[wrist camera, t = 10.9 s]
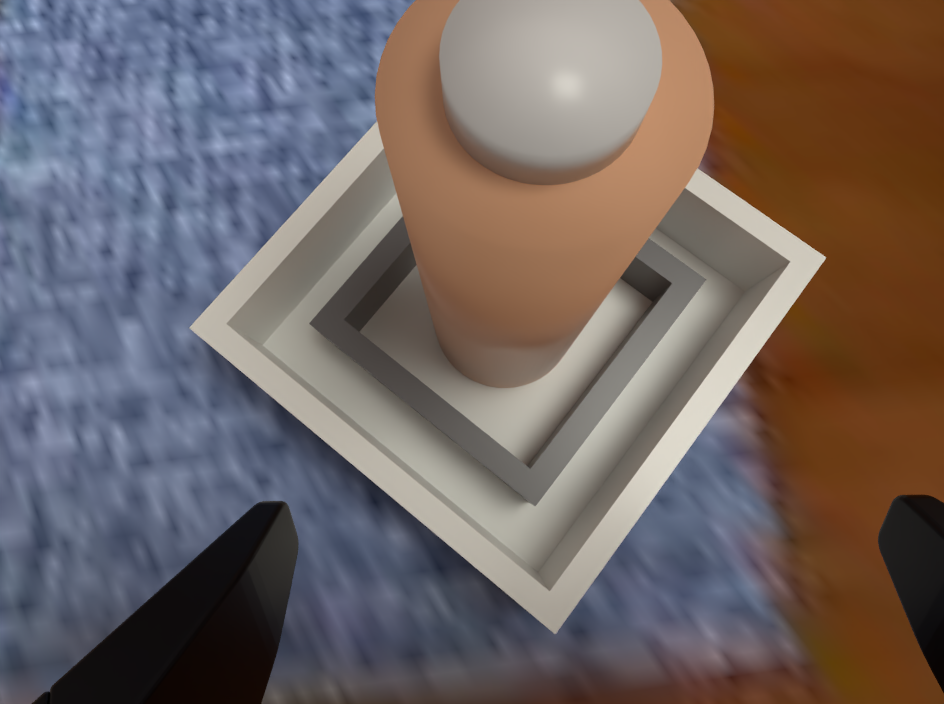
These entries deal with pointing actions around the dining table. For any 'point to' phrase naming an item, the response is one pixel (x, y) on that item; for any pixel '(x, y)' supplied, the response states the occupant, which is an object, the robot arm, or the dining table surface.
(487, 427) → the walled box
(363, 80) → the dining table surface
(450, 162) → the peach bottle
